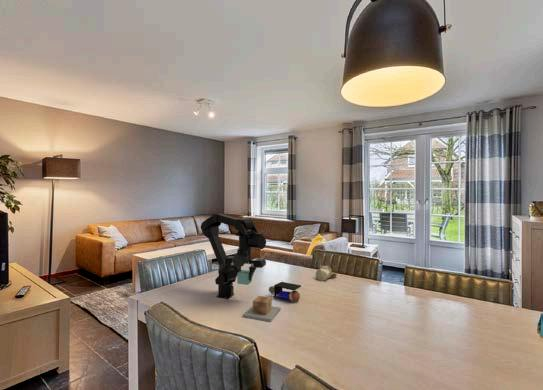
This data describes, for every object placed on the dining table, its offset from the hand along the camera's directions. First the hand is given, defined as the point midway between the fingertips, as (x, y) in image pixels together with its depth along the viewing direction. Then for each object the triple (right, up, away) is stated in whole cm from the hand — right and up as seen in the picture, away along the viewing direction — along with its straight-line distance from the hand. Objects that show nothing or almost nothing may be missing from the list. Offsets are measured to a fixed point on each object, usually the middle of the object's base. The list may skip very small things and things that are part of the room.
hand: (244, 280), depth 130 cm
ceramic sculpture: (+44, -11, +37) cm, 58 cm away
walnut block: (+8, -9, -11) cm, 17 cm away
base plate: (+8, -10, -11) cm, 18 cm away
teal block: (0, -1, 0) cm, 1 cm away
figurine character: (+19, -11, +5) cm, 22 cm away
